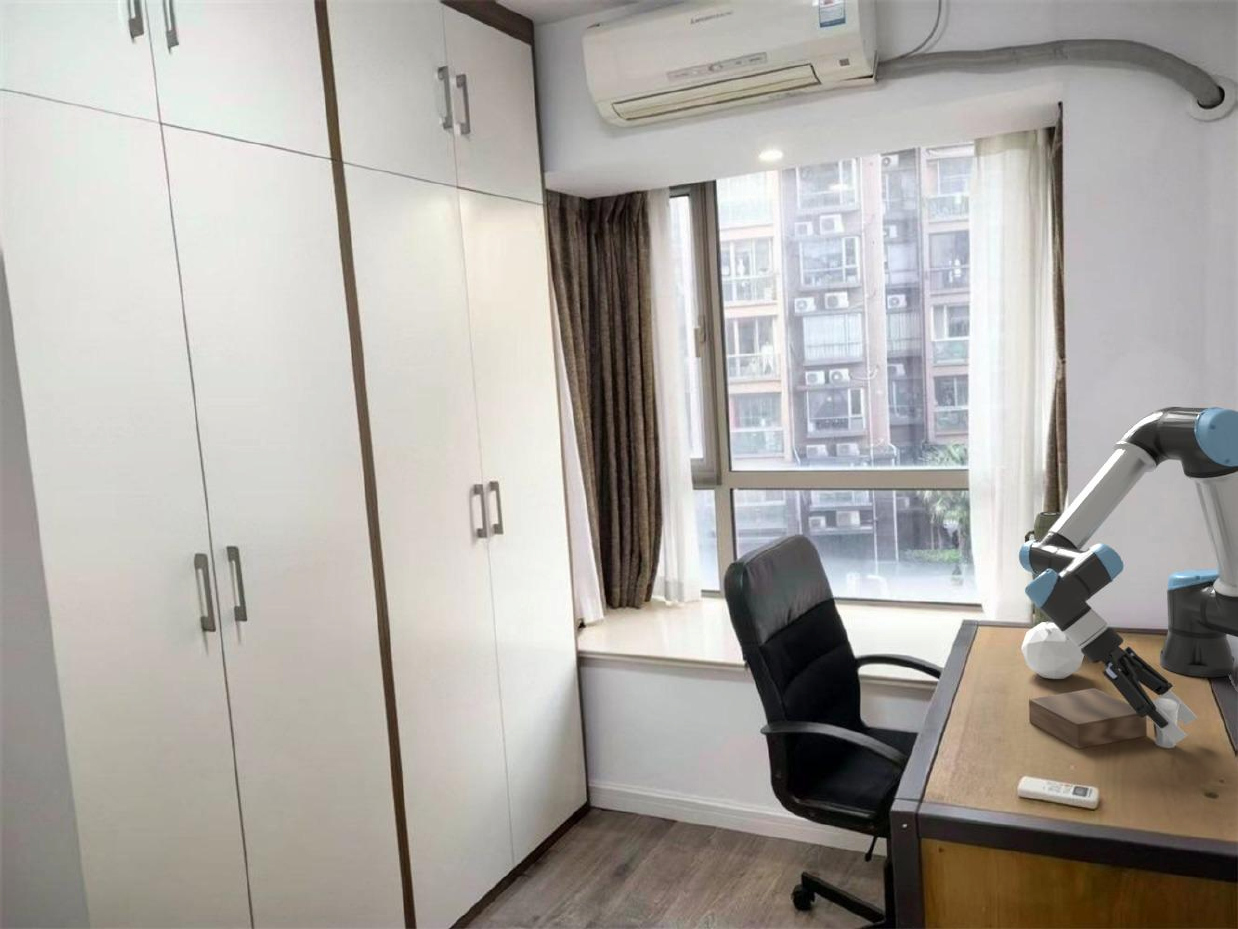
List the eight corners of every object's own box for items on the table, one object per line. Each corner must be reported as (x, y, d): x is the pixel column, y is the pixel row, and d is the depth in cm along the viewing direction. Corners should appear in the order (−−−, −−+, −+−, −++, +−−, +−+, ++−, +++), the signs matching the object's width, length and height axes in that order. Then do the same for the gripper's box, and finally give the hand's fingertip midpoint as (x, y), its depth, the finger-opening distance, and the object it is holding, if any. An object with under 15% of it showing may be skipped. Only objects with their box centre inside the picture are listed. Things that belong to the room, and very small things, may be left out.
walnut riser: (1094, 710, 191) (1094, 688, 191) (1146, 735, 178) (1146, 711, 177) (1029, 722, 188) (1029, 699, 187) (1077, 748, 174) (1077, 724, 174)
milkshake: (1174, 753, 169) (1173, 703, 168) (1146, 744, 174) (1145, 694, 173) (1188, 747, 171) (1188, 697, 170) (1160, 738, 176) (1160, 689, 175)
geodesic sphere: (1090, 670, 199) (1085, 612, 206) (1023, 666, 204) (1020, 609, 211) (1085, 689, 211) (1080, 633, 217) (1021, 685, 216) (1019, 631, 222)
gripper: (1094, 633, 189) (1181, 720, 180) (1063, 663, 173) (1157, 761, 164) (1122, 612, 185) (1212, 700, 176) (1093, 641, 169) (1191, 740, 160)
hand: (1186, 730), depth 170 cm, fingers open, 9 cm apart
